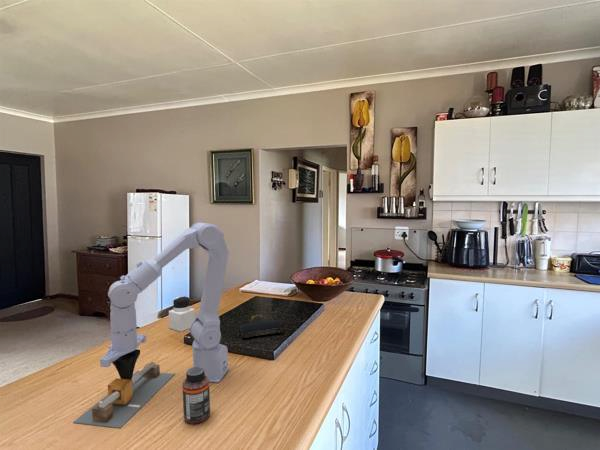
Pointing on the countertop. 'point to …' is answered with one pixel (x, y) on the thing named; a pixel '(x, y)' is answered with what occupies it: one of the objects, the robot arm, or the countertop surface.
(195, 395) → the supplement bottle
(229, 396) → the countertop surface
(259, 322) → the pipe connector
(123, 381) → the collar
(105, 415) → the pipe rig
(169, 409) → the countertop surface
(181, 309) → the medicine bottle
